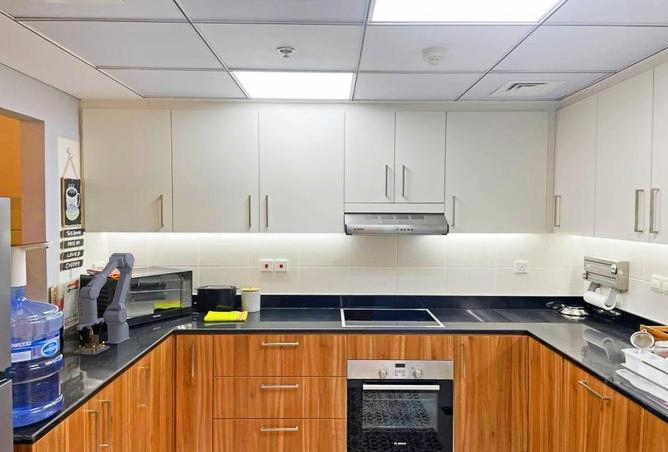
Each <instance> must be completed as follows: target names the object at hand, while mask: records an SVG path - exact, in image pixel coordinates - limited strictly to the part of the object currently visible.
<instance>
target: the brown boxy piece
mask: <svg viewBox="0 0 668 452" xmlns="http://www.w3.org/2000/svg"><path fill="white" fill-rule="evenodd" d="M93 345H94V346H95V350H100V349H102V348H104V346H105V345H104V346H102V343H100V336H98V335H89V343H88V344H84V345H83V346H82V349H81V351H86V352H91V351H92V346H93Z"/></svg>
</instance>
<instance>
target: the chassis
mask: <svg viewBox="0 0 668 452" xmlns="http://www.w3.org/2000/svg"><path fill="white" fill-rule="evenodd" d="M104 342H105V341H101V344H102V346H104V348H102V349H100V350H95V346H94V345H93V346H92V351H91V352H86V351H81V349H82V347H83V346H82V344H79V345H78V349H76V350H74V351H73V354H74V355H90V356H94V355H97V354H99V353H102V352H104V351H107V350H109V349H110V348H111V346H110V345H105V343H104Z"/></svg>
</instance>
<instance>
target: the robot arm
mask: <svg viewBox="0 0 668 452" xmlns="http://www.w3.org/2000/svg"><path fill="white" fill-rule="evenodd" d="M135 260H136V259H135V256H134V255H133V253H131V252H113V253H112V254H111V255H110V256H109V258H108V262H107V263H106V264H105V266H104V268H103V269H102V270H101V271H100V273H96V274H95V275H94V276H93V278H92V279H91V280H90V281H89V282H88V283H87V284H86V286H83V287H81V288H80V290H79V293H78V298H79V297H80V298H81V302H82V304H83V323H81V324H80V325H79V324H78V325H76V331H77V332H78V333H79V336H80V335H81V337H82V339H83V340H82V342H83V344H84V345H85V344H88V343H89V334H90V330H91V329H88V328H87V327H90V326H91V327H92V330H93V335H98V336H99V337H100V336H101V332H102V329H103V328H104V325H105V324H106V325H107V339H108V340H106V341H104V344H117V345H118V344H121V343H122V342H125V341H127V340H130V339H131V337H130V333H129V332H130V331H129V330H130V329H129V328H130V327H129V325H128V322H127V319H128V308H127V306H126V305H125V302H126V297H127V294H128V290H129V286H130V282H131V279H132V274H133V268H134V264H135ZM115 269H116V270H118V271H119V276H118V280H117V283H116V287H115V291H114V295H113V297H112V298H113V299H112V302H111V303H110V304H109V305H108V306H107V307H106V310H105V311H104V313H103V315H102V317H100V318H99V317H98V304H97V303H98V302H97V298H98V297H99V296H100V292H101V289H102V288H103V286H104V285H106V283H107V282H108V281H107V278H108V277H109V276H110V275H111V274H112V273H113V272H114V271H115ZM104 322H105V323H104Z"/></svg>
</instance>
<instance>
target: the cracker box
mask: <svg viewBox="0 0 668 452" xmlns="http://www.w3.org/2000/svg"><path fill="white" fill-rule="evenodd" d="M77 308H78V309H77V310H78V325H80V324H81V323H83V304H82V302H81V298H80V297H79V296H78V298H77ZM87 328H88V329H91V330H90V334H89V335H93V330H92V327H91V326H90V327H87ZM79 339H80V340H82V341H83V339H82V337H81V335H80V334H79Z"/></svg>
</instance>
